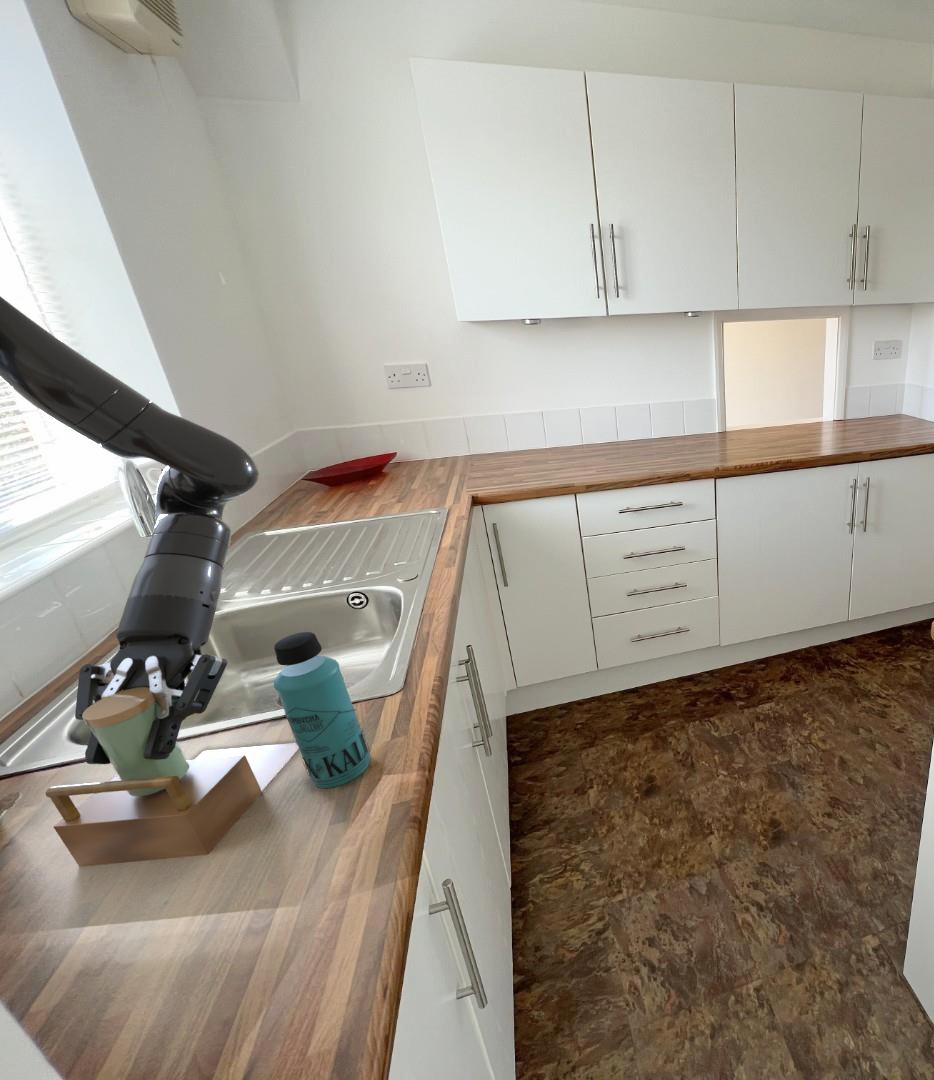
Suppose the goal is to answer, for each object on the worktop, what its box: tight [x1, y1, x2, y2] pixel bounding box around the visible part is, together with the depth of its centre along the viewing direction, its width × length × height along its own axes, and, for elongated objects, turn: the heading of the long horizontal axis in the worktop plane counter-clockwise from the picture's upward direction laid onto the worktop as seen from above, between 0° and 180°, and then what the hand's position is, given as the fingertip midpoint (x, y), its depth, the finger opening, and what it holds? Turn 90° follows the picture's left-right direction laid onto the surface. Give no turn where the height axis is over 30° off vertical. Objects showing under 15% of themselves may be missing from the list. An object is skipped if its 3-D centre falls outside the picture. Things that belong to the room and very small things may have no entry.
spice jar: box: [82, 687, 189, 797], centre depth 61 cm, size 5×5×10 cm
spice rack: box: [45, 742, 300, 868], centre depth 67 cm, size 13×17×11 cm
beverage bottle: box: [273, 631, 372, 789], centre depth 68 cm, size 6×7×20 cm
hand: (127, 760), depth 60 cm, fingers closed on spice jar, 5 cm apart
